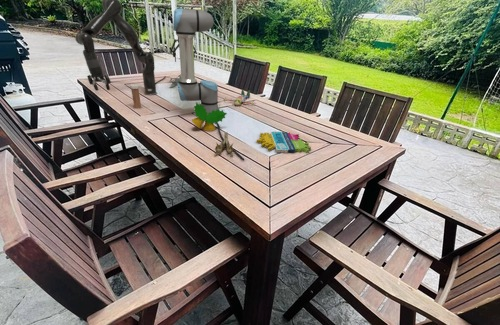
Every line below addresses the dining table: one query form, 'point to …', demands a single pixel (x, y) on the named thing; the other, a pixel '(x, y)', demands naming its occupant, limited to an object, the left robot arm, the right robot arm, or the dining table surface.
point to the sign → (283, 142)
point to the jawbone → (224, 145)
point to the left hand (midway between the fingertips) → (102, 90)
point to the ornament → (207, 117)
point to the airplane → (174, 81)
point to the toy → (241, 99)
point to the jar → (136, 98)
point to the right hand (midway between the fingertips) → (184, 61)
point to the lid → (134, 86)
